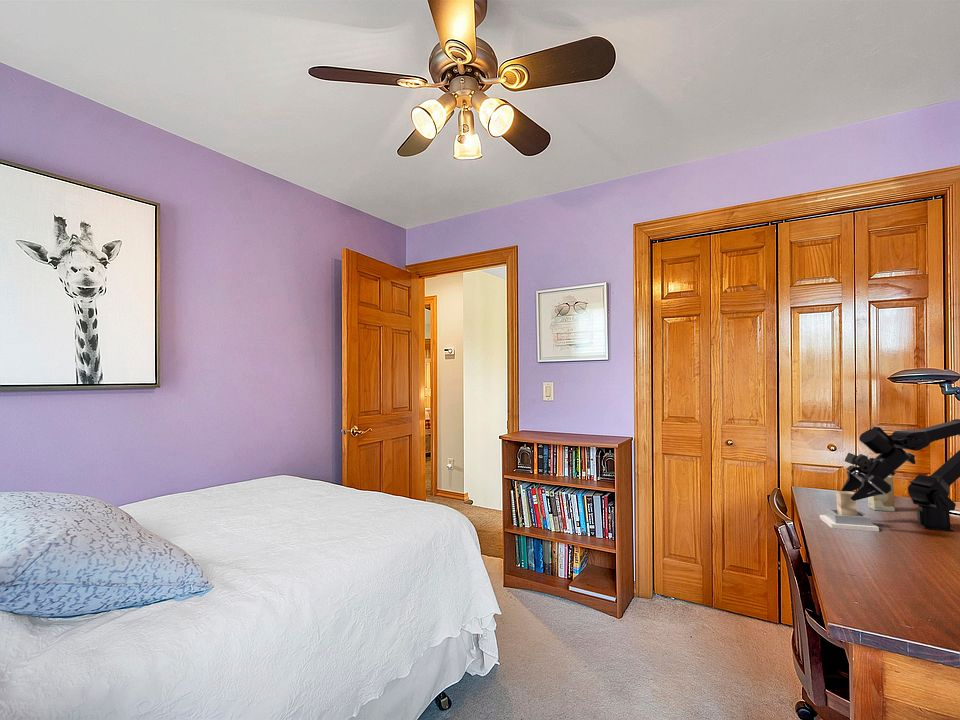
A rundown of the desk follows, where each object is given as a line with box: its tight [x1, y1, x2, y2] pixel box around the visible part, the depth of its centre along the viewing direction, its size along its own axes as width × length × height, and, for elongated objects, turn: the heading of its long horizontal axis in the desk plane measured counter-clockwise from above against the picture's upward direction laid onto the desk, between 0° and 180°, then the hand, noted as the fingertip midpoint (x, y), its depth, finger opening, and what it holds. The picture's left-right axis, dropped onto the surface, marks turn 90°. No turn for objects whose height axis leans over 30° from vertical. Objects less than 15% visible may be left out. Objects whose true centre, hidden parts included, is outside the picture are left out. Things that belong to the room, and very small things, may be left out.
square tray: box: [819, 508, 880, 532], centre depth 148 cm, size 12×12×4 cm
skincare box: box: [867, 475, 896, 512], centre depth 165 cm, size 6×4×12 cm
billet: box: [835, 490, 858, 516], centre depth 148 cm, size 4×4×9 cm
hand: (846, 496), depth 149 cm, fingers open, 9 cm apart
